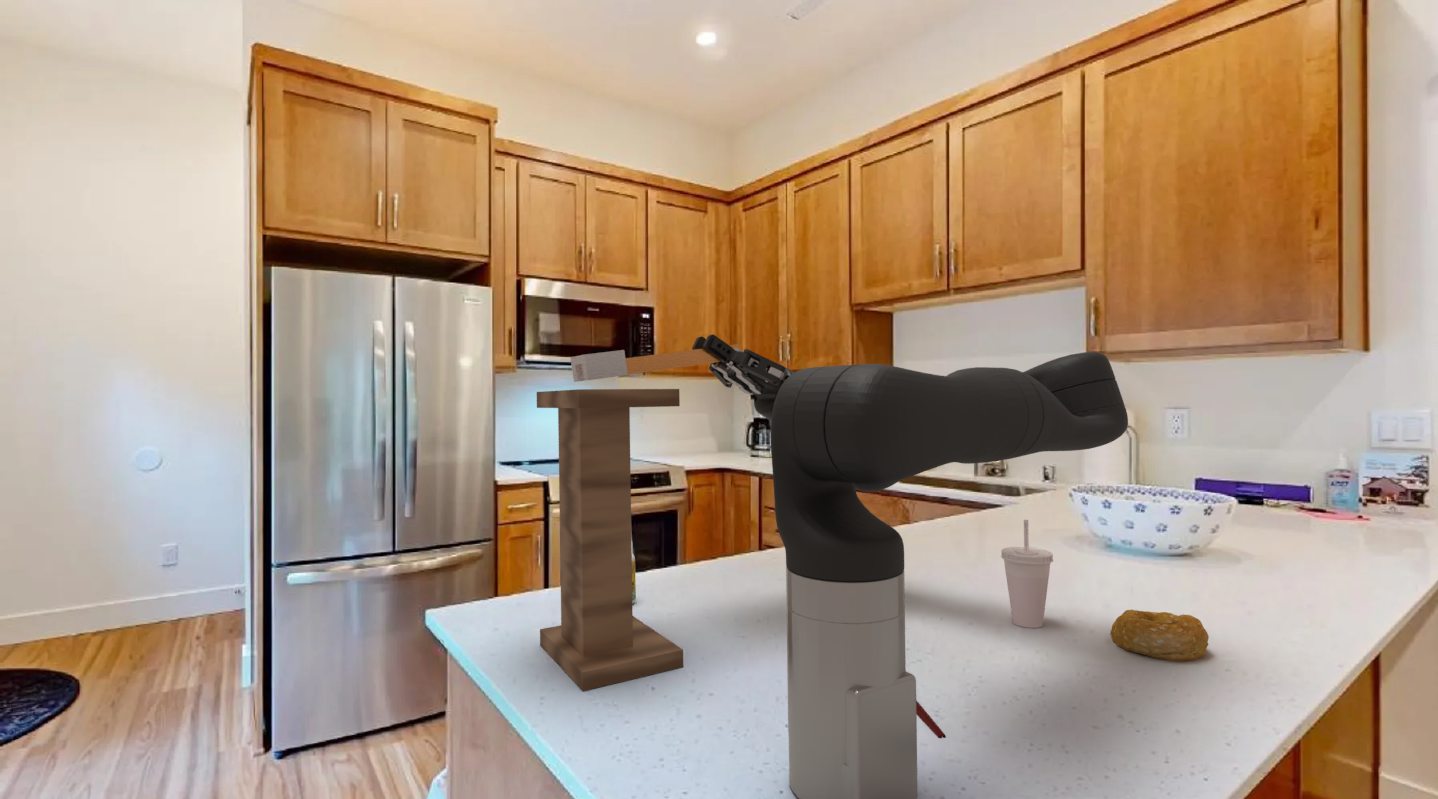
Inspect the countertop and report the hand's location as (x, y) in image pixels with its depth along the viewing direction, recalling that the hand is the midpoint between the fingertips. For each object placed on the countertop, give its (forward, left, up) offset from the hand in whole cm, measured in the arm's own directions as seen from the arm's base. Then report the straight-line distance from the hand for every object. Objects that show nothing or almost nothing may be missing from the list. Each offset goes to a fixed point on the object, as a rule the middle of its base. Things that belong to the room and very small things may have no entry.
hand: (701, 341), depth 88 cm
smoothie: (-20, -38, -39) cm, 58 cm away
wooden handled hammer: (0, +6, -4) cm, 7 cm away
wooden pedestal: (0, +14, -38) cm, 41 cm away
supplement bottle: (+19, +5, -39) cm, 43 cm away
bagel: (-34, -44, -39) cm, 68 cm away
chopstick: (-24, -10, -39) cm, 47 cm away
